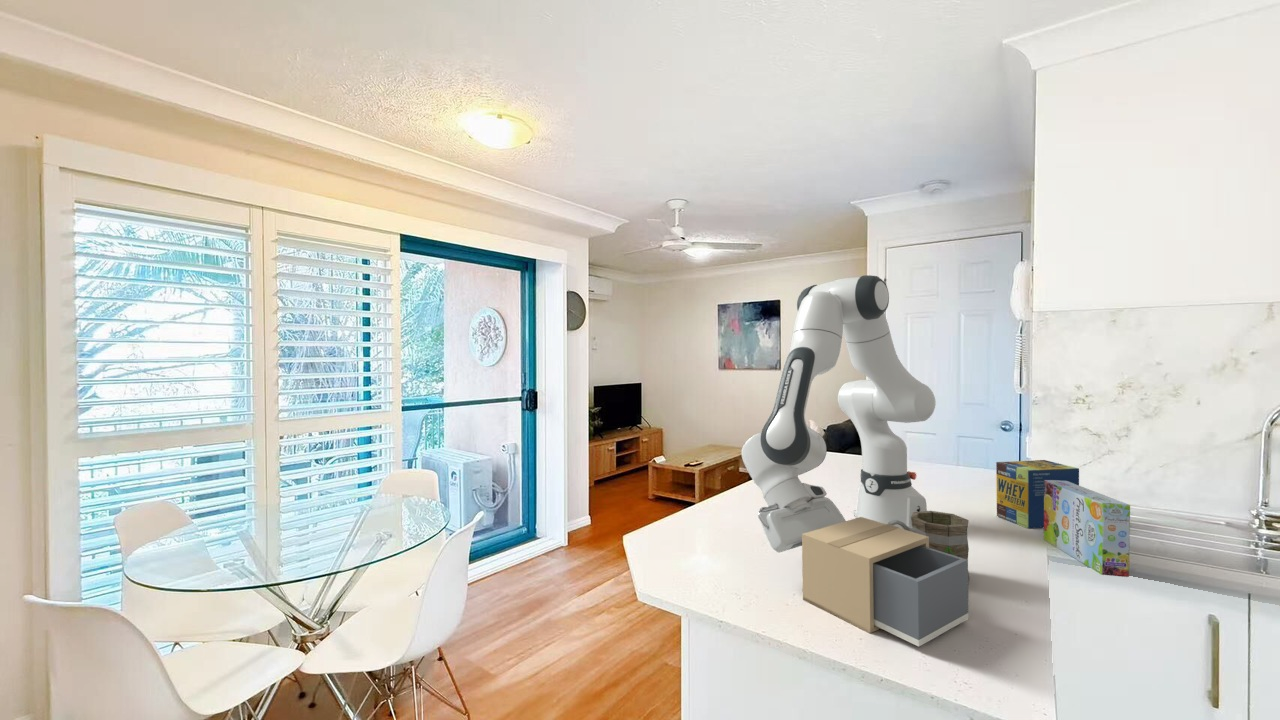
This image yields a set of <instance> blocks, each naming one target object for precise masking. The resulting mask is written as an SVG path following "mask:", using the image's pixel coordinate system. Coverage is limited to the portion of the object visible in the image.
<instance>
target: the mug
mask: <svg viewBox="0 0 1280 720" xmlns="http://www.w3.org/2000/svg"><path fill="white" fill-rule="evenodd" d="M911 521H912V528H909V527H908V526H906V525H905V524H904V523H903V522H901V521H898V520H893V521H890V522H888V524H889V525H895V524H898V525H900V526H902V527H903V529H904V530H908V531H911V532H914V533H918V534H921V535H925V536H928V537H929V548H931V549H935V550H938V551H941V552H944V553H947V554H951V555H954V556H957V557H960V558H964V559H967V560H968V561H969V551H970V550H969V540H968V528H969V519H967V518H964V517H962V516H960V515H957V514H954V513H949V512H943V511H935V510H927V511H920V512H913V514H912V516H911ZM969 581H970V574H969V572H968V585H969V584H970V583H969Z"/></svg>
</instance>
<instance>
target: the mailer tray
mask: <svg viewBox="0 0 1280 720" xmlns="http://www.w3.org/2000/svg"><path fill="white" fill-rule="evenodd" d="M968 573H969V559H968V560H967V559H964V558H960V557H957V556H954V555H951V554H947V553H944V552H941V551H938V550H935V549H931V548H928V547H925V546H922V545H920V546H917V547H915V548H912V549H909V550H907V551H904V552H901V553H899V554H896V555H893V556H891V557H888V558H886V559H883V560H880V561H878V562H875V563H873V603H874V625H875V626H877V627H879V628H880V629H881V630H884V631H886V632H888V633H889V634H892V635H894V636H895V637H898V638H899V639H902V640H904V641H906V642H908V643H910V644H913V645H915V646H917V647H918V648H919V647H921V646H922V645H924V644H926V643H928V642H929V641H931V640H933V639H935V638H937V637H939V636H940V635H943V634H944V633H946V632H947V631H950V630H951V629H953V628H954V627H956V626H958V625H960V624H962V623H964V622H965V621H967V620H968V619H969V584H968Z"/></svg>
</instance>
